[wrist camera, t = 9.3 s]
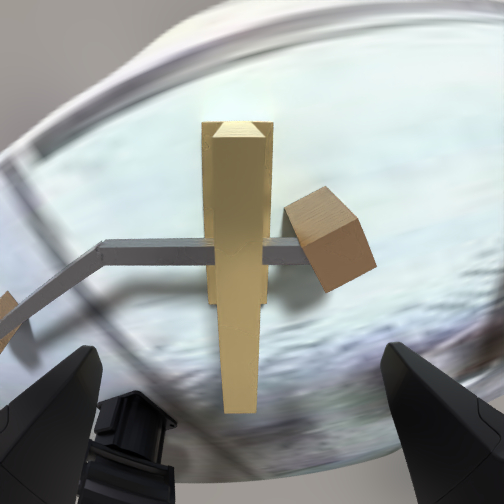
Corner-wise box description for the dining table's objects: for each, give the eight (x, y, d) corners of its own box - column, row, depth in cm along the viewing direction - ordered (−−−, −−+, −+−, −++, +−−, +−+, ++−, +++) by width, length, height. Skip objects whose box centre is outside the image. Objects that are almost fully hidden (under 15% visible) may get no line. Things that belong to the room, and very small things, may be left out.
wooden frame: (265, 294, 23) (282, 411, 14) (209, 294, 23) (198, 412, 14) (271, 121, 18) (309, 139, 9) (203, 121, 18) (168, 138, 9)
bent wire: (343, 224, 21) (377, 266, 16) (54, 368, 26) (32, 412, 21) (281, 101, 17) (301, 99, 12) (-6, 302, 23) (-38, 341, 17)
